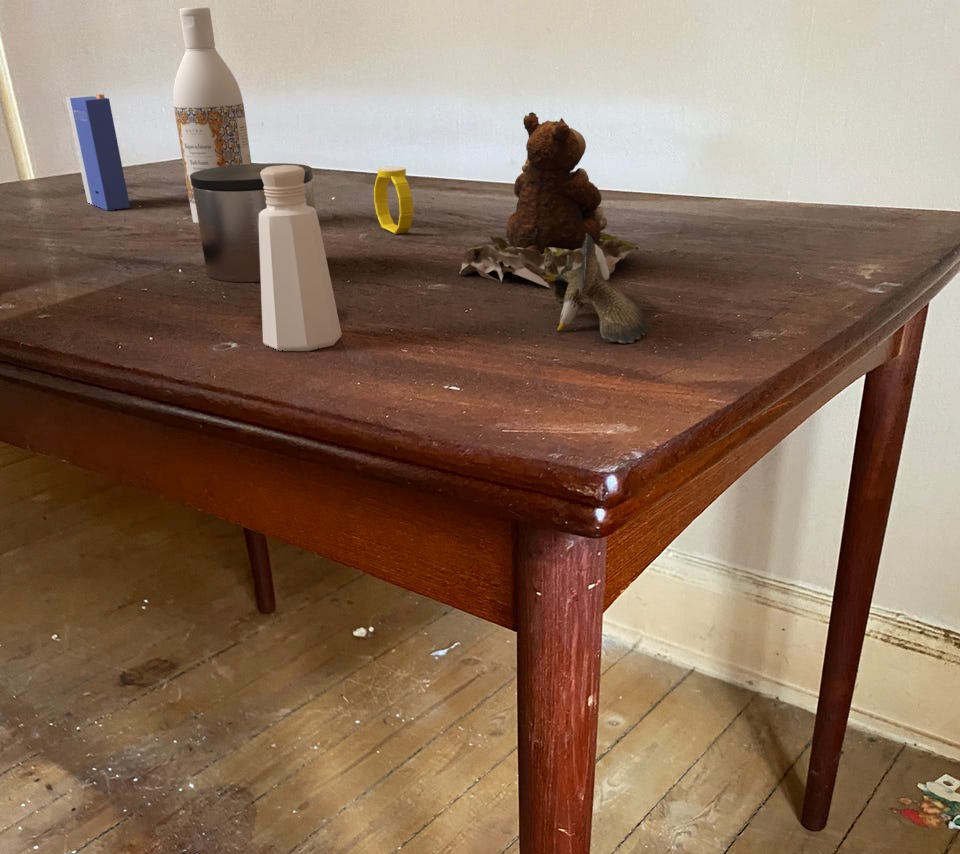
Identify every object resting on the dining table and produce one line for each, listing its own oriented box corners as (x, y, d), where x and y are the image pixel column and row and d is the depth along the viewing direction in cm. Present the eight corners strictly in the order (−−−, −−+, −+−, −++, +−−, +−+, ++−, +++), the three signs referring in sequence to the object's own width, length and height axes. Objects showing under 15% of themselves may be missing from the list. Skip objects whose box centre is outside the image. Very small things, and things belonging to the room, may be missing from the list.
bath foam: (180, 229, 111) (143, 9, 100) (217, 217, 116) (184, 8, 106) (236, 231, 109) (204, 7, 98) (271, 219, 114) (243, 6, 104)
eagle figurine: (494, 308, 73) (563, 310, 66) (533, 211, 73) (607, 201, 65) (576, 354, 77) (649, 360, 70) (614, 262, 77) (692, 258, 69)
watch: (369, 229, 108) (364, 166, 104) (393, 225, 109) (389, 163, 106) (396, 237, 103) (391, 172, 100) (421, 234, 104) (417, 169, 101)
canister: (181, 277, 91) (163, 177, 87) (254, 254, 98) (241, 161, 94) (276, 286, 87) (262, 182, 82) (344, 261, 94) (335, 165, 90)
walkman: (130, 208, 124) (108, 94, 118) (107, 211, 123) (84, 96, 117) (109, 200, 130) (87, 92, 124) (87, 203, 129) (63, 93, 122)
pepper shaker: (296, 327, 75) (276, 160, 70) (357, 335, 73) (341, 163, 67) (246, 346, 71) (220, 171, 66) (309, 356, 69) (288, 175, 63)
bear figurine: (671, 261, 90) (681, 102, 83) (556, 295, 81) (557, 120, 75) (552, 243, 98) (552, 98, 92) (435, 272, 89) (427, 113, 83)
